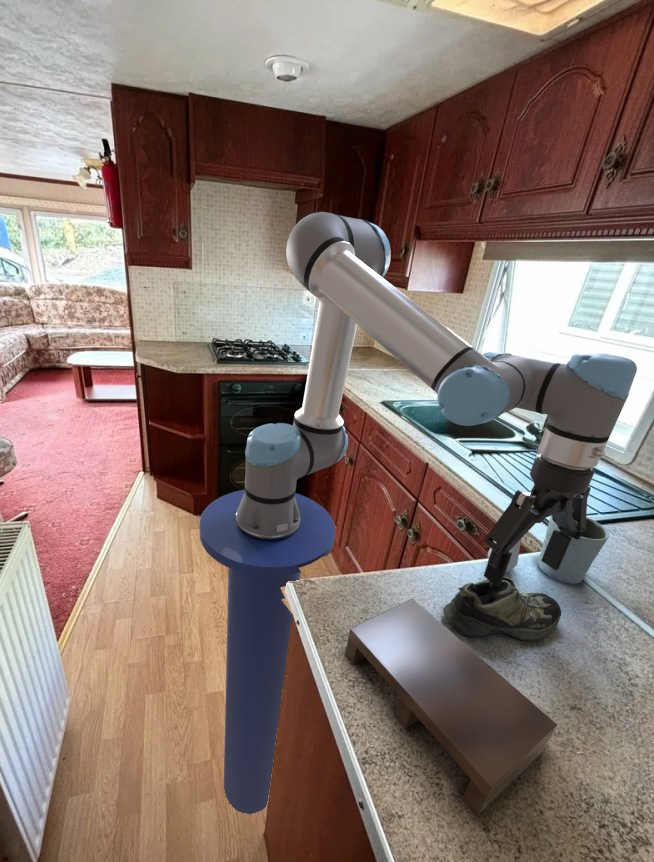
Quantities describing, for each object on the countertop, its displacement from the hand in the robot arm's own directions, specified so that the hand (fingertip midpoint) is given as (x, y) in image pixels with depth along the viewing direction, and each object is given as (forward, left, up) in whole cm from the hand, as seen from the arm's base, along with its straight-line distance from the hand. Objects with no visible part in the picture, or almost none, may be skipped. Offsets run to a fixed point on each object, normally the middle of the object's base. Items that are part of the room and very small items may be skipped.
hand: (521, 572), depth 69 cm
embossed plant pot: (-7, +25, -12) cm, 29 cm away
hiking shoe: (0, 0, -12) cm, 12 cm away
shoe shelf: (+8, -22, -12) cm, 26 cm away
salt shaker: (-12, +13, -12) cm, 21 cm away
